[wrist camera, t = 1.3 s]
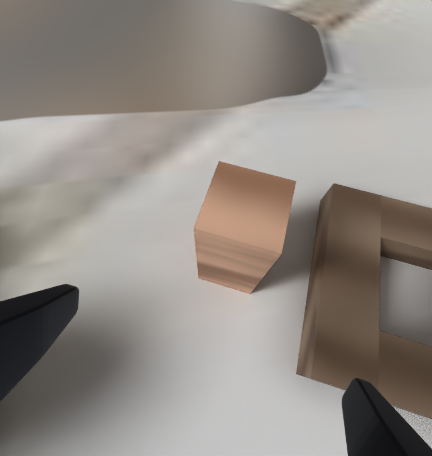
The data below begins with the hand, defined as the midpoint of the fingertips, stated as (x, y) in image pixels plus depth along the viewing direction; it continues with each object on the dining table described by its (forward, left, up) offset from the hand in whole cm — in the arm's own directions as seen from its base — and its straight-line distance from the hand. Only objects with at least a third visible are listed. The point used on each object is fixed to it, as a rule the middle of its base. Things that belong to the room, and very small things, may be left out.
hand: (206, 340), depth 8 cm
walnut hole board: (+1, -17, -13) cm, 22 cm away
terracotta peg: (+7, -3, -13) cm, 15 cm away
